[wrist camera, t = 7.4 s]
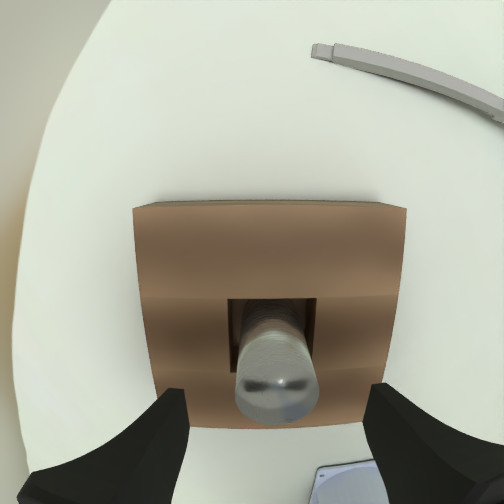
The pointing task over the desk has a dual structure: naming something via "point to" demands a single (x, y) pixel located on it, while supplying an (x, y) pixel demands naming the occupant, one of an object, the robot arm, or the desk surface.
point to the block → (268, 295)
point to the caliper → (411, 75)
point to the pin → (274, 364)
